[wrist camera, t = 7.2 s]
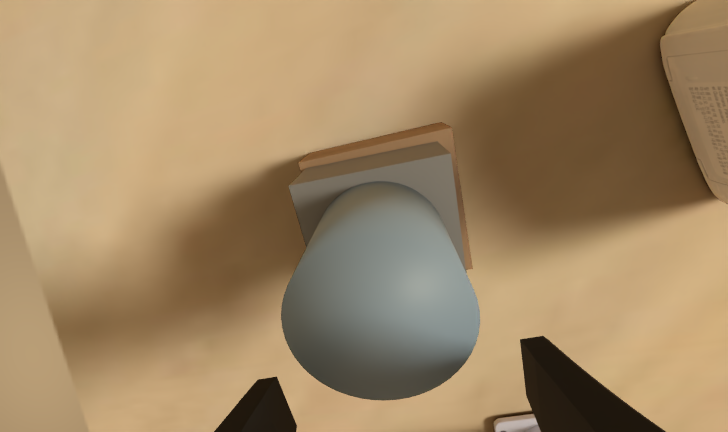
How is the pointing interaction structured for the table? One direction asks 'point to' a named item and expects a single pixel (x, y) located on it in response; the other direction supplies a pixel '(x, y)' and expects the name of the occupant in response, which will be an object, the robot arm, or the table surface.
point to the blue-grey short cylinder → (380, 297)
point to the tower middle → (404, 166)
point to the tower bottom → (395, 142)
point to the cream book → (702, 84)
